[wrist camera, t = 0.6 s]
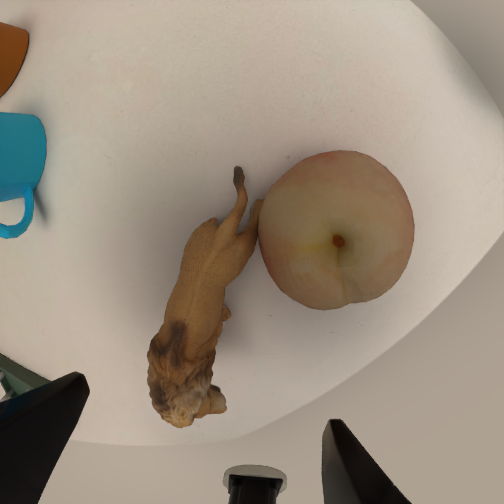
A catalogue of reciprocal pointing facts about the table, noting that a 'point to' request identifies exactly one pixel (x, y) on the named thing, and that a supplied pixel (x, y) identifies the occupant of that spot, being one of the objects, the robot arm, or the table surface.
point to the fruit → (336, 230)
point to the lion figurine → (199, 316)
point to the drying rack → (17, 378)
